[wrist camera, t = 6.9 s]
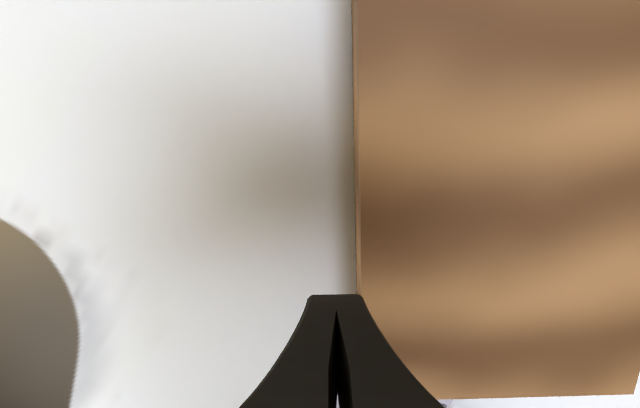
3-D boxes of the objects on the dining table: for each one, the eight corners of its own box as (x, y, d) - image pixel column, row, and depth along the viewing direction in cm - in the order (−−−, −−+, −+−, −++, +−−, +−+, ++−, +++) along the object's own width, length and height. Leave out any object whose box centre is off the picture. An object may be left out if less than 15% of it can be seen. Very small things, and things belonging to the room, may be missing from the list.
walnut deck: (589, 336, 26) (633, 394, 22) (357, 343, 26) (362, 401, 22) (671, -54, 18) (757, -65, 15) (351, -38, 19) (357, -45, 15)
